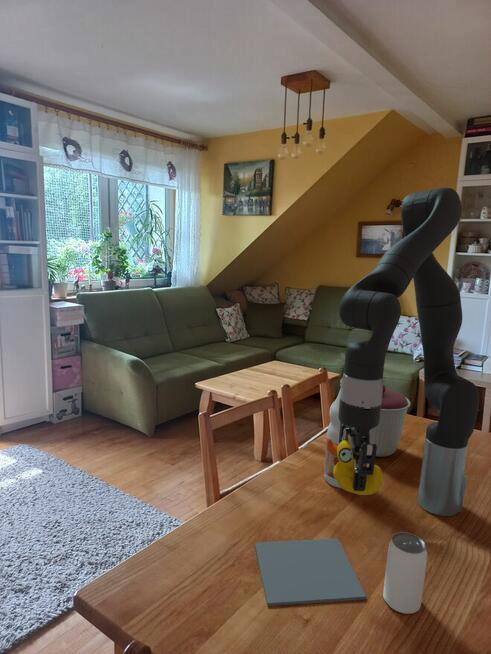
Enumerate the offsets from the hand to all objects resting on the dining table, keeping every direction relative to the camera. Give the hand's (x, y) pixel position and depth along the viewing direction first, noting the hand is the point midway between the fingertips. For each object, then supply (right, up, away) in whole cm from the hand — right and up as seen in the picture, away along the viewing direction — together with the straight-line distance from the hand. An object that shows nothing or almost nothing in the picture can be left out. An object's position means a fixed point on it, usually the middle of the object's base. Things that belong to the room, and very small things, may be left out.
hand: (352, 479), depth 88 cm
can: (+8, -20, -6) cm, 22 cm away
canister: (+19, -9, +53) cm, 57 cm away
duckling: (0, -3, +1) cm, 3 cm away
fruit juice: (+5, -12, +34) cm, 37 cm away
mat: (-9, -18, +1) cm, 20 cm away
